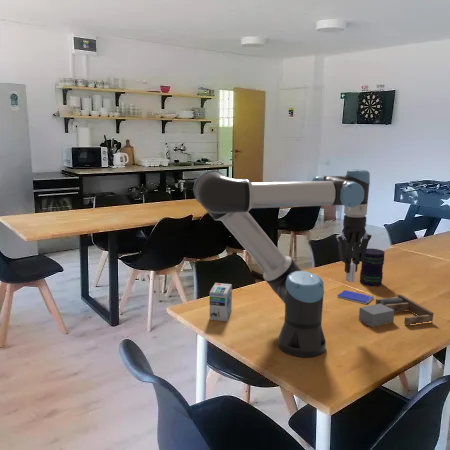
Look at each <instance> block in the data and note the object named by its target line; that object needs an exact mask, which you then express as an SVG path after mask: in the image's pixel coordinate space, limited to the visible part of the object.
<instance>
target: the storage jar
mask: <svg viewBox="0 0 450 450" xmlns="http://www.w3.org/2000/svg"><path fill="white" fill-rule="evenodd" d="M384 263H385V251H384V250H382V249H378V248H367V249H366V253H365V256H364V260H363V261H362V262H361V266H360V267H361V269H360V273H359V284H361V285H363V286H367V287H380V286H382V284H383V283H382V282H383V279H384V278H383V274H384V272H383V270H384V269H383V268H384V267H383V266H384Z"/></svg>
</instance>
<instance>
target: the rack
mask: <svg viewBox="0 0 450 450" xmlns="http://www.w3.org/2000/svg"><path fill="white" fill-rule="evenodd" d="M395 298H402V299H403V301H404V303H397V304H387V305H385V306H387V307H389V308H391V309H393V310H394V313H397V312H396V311H401V312H406V311H405V310H409V311H408V312H410V311H411V312H413V313H415V314H417V315H418V316H416V315H415V314H414V315H413V316H412V315H411V316H406V317H404V324H405V325H410V324H416V323H423V322H429V321H434V312H433V311H431V310H430V309H428V308H426V307H424V306H423V305H420V304H418V303H417V302H416V301H414V300H411V299H410V298H407V297H406V296H404V295H402V294H401V293H400V294H397V296H396V297H395V296H394V297H384V298H382V297H381V298H375V304H380V301H381V300H385V299H395ZM411 312H410V313H411ZM413 313H412V314H413ZM404 324H403V325H404ZM405 325H404V326H405Z"/></svg>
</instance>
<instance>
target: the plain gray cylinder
mask: <svg viewBox="0 0 450 450" xmlns="http://www.w3.org/2000/svg"><path fill="white" fill-rule="evenodd" d="M380 303H381V304H383V305H387V304H397V303H404V301H403V299H402V298H395V299H385V300H381V301H380Z"/></svg>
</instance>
